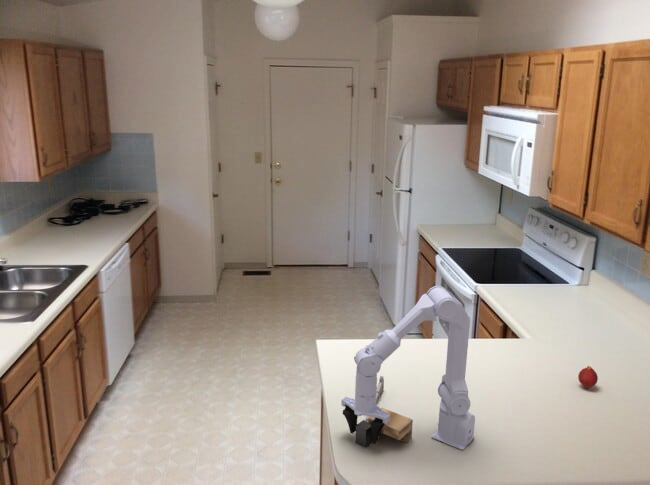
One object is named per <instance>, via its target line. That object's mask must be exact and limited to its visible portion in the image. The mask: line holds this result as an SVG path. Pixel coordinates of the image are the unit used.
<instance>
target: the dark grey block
mask: <svg viewBox="0 0 650 485" xmlns="http://www.w3.org/2000/svg"><path fill="white" fill-rule="evenodd" d="M380 436H382V433H380ZM354 441H355V442H354V443H355V444H357V445H359V446H361V447H363V448H365V449H366V448H367V447H369V446H370V445H371V444H373V443H372V429H371V425H370V423H369V422H367V421H366V419H362V420H361V421H360V422H357V425H356V431H355V438H354Z"/></svg>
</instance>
